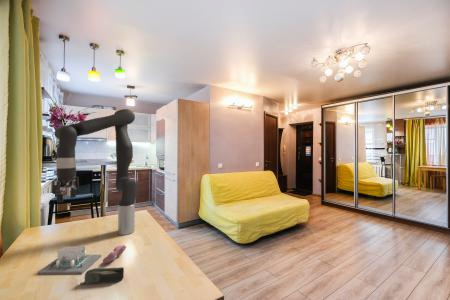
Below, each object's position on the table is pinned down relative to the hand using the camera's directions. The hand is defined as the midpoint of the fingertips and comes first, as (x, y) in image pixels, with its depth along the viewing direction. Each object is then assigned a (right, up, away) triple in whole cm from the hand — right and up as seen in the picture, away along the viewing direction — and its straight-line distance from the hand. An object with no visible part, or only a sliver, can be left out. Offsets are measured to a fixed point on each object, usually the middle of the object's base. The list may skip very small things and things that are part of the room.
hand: (66, 199), depth 98 cm
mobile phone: (+30, -27, -20) cm, 45 cm away
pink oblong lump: (+26, -27, -4) cm, 38 cm away
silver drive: (+10, -25, -10) cm, 29 cm away
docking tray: (+10, -27, -10) cm, 30 cm away
